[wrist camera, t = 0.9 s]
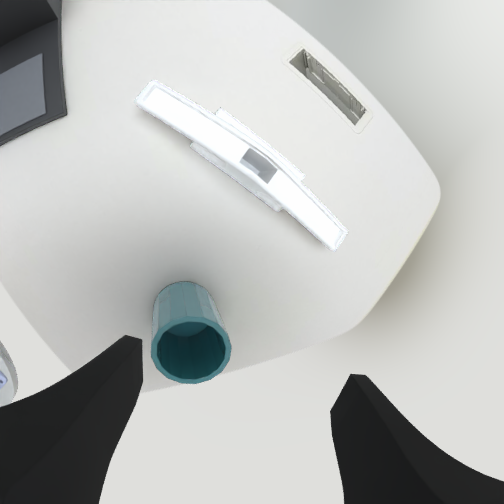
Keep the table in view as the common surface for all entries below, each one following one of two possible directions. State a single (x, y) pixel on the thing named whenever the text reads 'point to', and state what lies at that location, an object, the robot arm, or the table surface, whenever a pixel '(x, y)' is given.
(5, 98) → the coffee maker
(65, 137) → the table surface
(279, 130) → the table surface
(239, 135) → the t-shaped cleat
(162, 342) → the cup
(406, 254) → the table surface
